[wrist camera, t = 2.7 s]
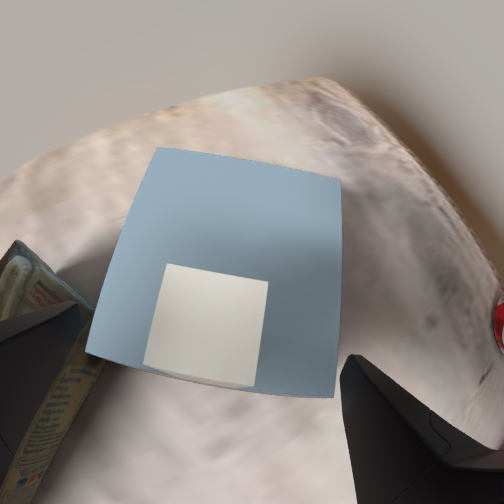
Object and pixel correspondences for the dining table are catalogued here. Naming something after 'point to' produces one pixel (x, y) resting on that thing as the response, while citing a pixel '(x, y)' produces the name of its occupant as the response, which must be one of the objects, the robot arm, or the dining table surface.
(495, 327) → the soda can
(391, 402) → the robot arm
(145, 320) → the blue plate with post
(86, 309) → the beverage carton
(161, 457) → the dining table surface
